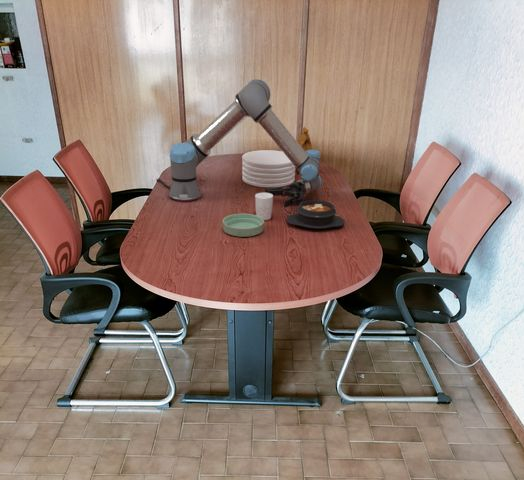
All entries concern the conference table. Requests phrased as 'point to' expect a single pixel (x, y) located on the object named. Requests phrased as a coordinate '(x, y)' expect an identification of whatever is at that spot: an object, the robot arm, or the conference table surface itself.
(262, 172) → the plate stack
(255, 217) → the basin
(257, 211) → the white cup
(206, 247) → the conference table surface
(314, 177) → the robot arm
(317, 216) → the casserole
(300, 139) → the coffee package
